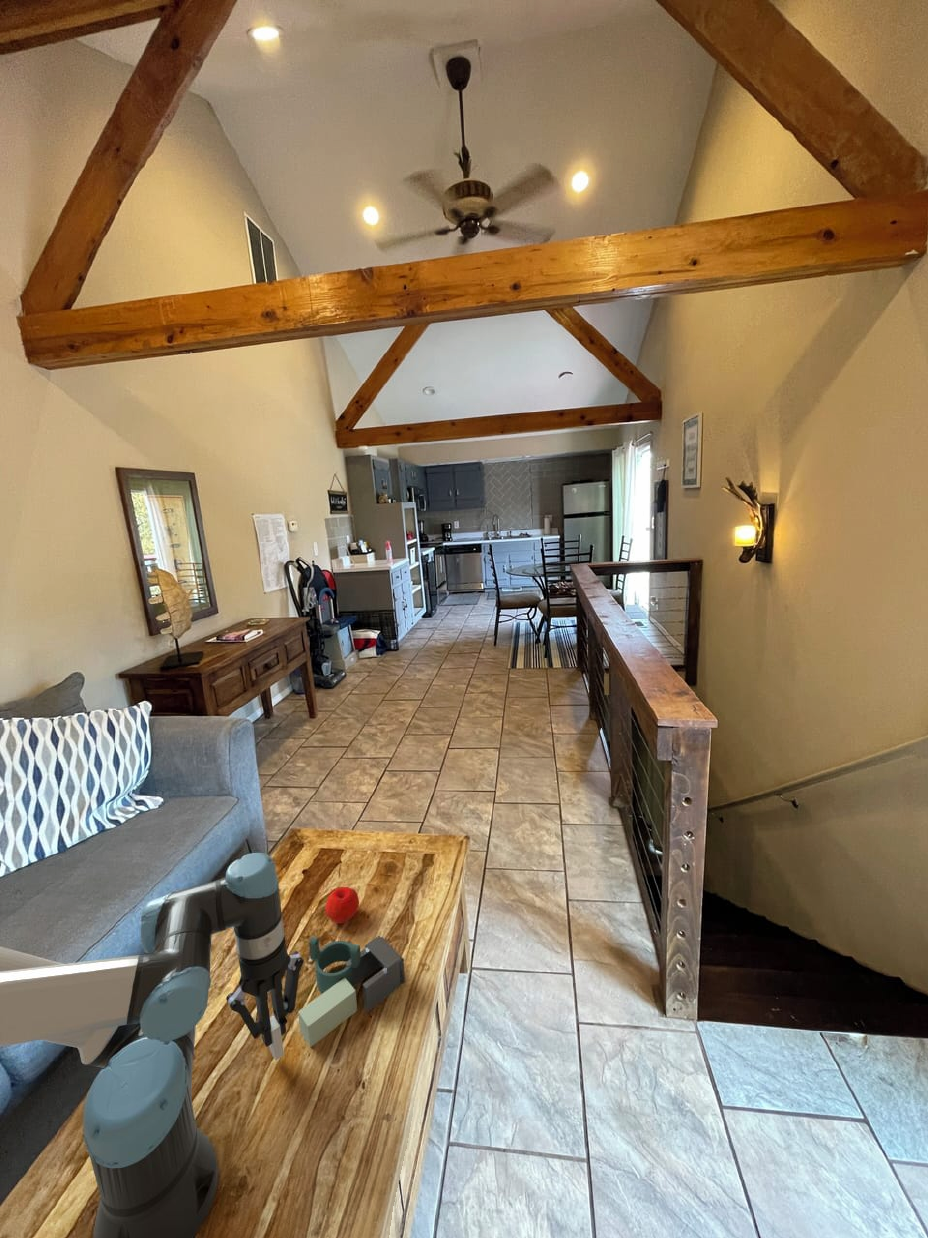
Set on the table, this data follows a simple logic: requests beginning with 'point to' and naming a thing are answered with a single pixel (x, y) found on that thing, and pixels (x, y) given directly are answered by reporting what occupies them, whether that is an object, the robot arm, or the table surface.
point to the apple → (342, 904)
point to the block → (327, 1011)
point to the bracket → (333, 961)
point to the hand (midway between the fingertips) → (276, 1052)
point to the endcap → (384, 980)
